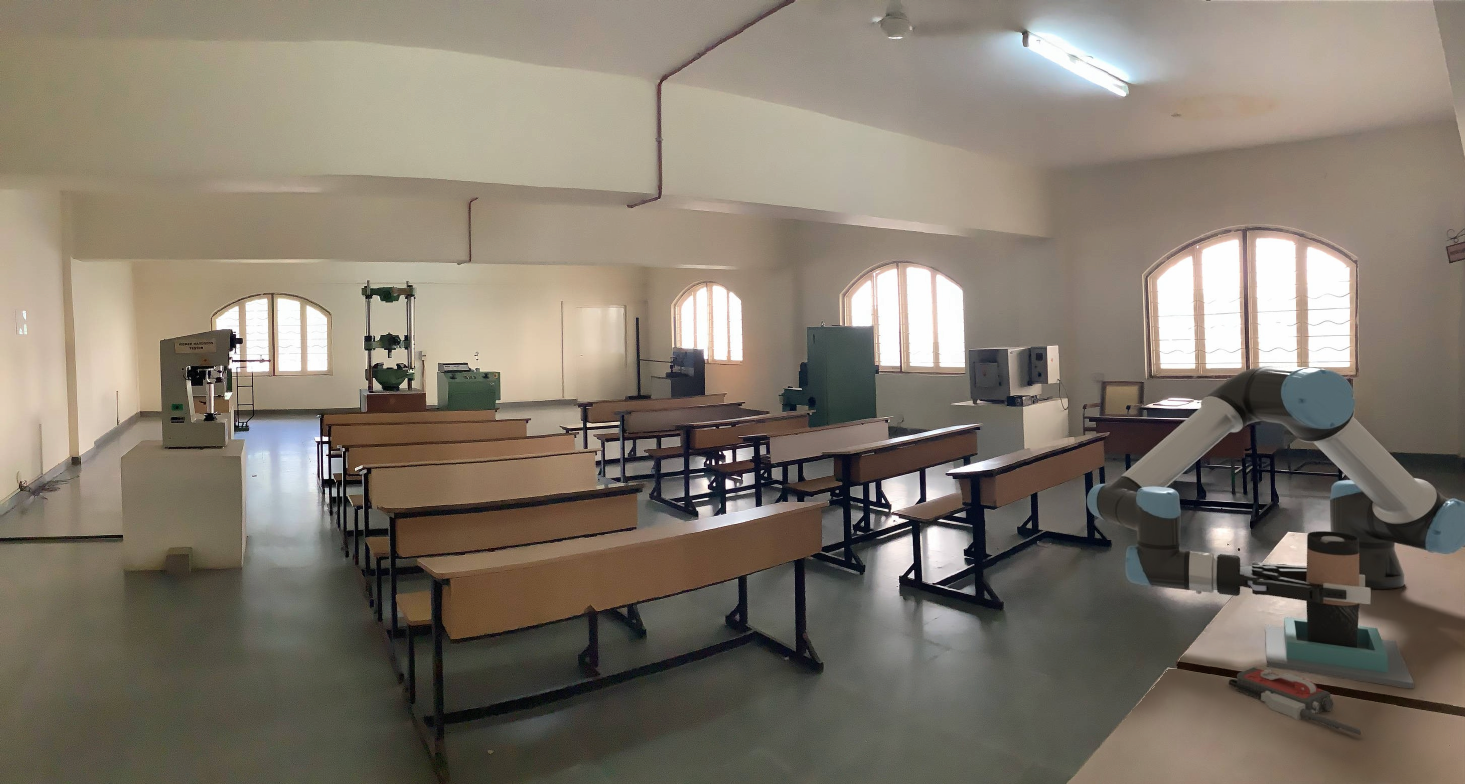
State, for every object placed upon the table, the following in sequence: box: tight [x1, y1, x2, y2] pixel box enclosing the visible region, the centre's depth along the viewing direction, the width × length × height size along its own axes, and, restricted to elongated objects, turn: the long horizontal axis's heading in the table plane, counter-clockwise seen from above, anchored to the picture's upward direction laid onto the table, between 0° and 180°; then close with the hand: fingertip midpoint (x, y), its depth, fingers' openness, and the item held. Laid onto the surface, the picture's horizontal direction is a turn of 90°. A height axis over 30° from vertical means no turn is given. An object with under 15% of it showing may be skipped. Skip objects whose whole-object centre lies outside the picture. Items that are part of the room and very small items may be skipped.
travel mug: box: [1305, 530, 1360, 648], centre depth 145 cm, size 8×8×20 cm
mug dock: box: [1264, 616, 1415, 690], centre depth 146 cm, size 20×20×4 cm
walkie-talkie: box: [1228, 667, 1362, 736], centre depth 128 cm, size 9×4×20 cm
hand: (1367, 589), depth 143 cm, fingers closed on travel mug, 7 cm apart
